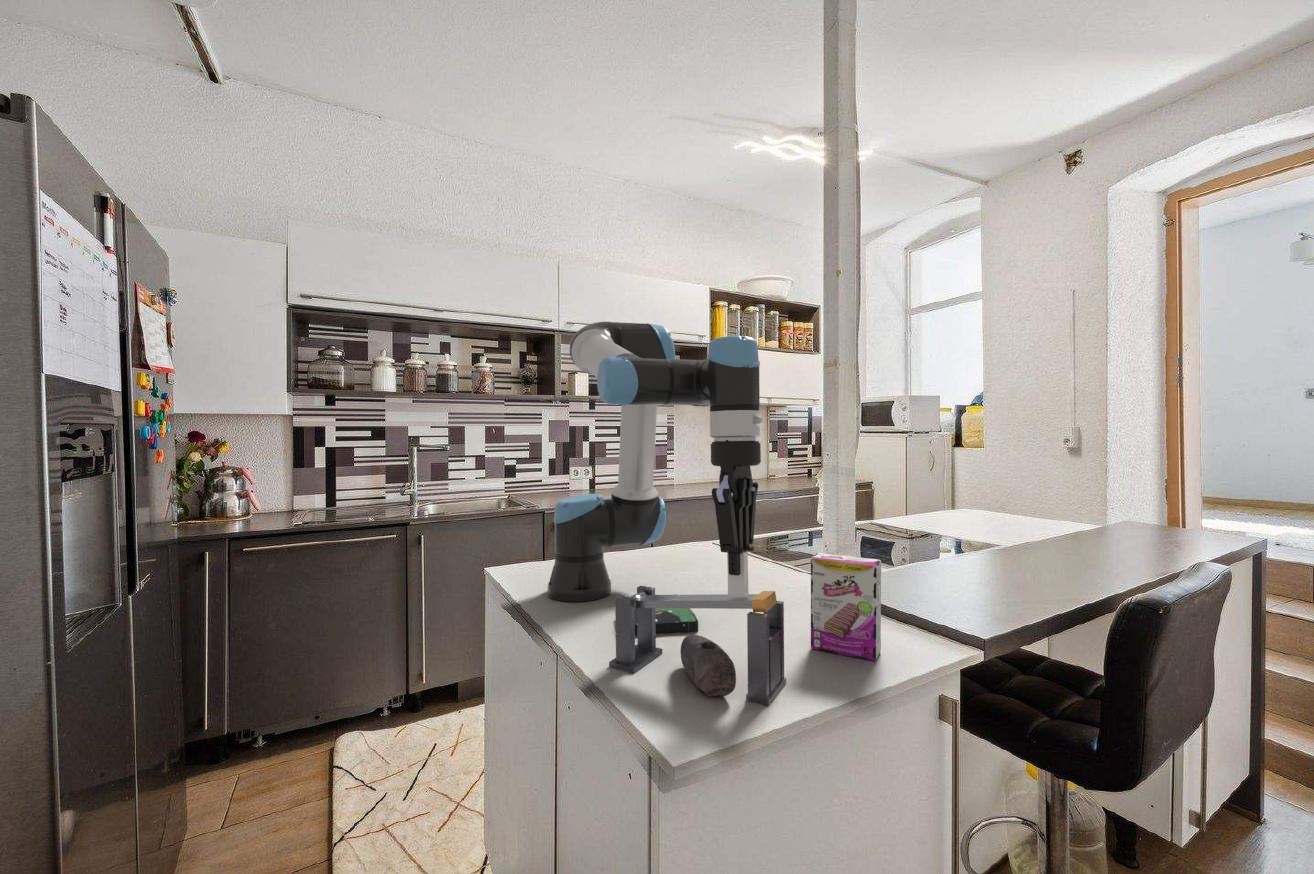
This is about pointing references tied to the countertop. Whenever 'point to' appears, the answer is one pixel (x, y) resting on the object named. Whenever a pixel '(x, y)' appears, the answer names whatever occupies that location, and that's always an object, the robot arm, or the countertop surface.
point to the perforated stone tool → (708, 665)
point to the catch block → (765, 654)
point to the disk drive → (673, 620)
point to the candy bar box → (846, 605)
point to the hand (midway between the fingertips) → (738, 594)
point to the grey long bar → (708, 601)
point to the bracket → (626, 650)
